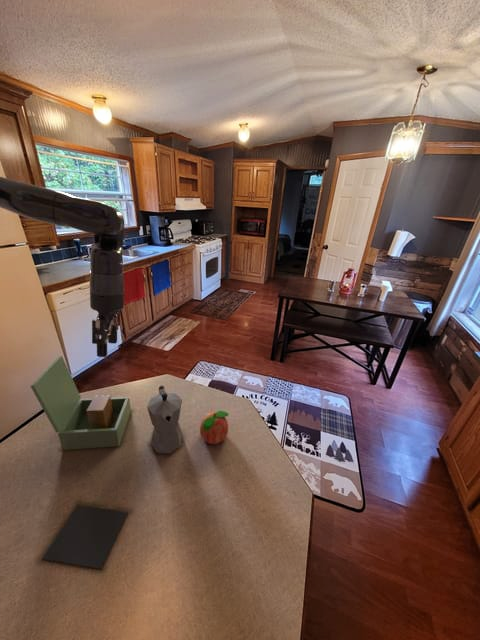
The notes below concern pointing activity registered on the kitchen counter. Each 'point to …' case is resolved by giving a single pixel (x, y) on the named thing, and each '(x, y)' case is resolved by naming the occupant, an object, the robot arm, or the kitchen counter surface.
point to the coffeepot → (165, 421)
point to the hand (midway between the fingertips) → (107, 349)
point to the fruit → (214, 427)
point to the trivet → (87, 537)
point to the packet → (100, 412)
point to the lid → (56, 393)
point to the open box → (82, 436)
